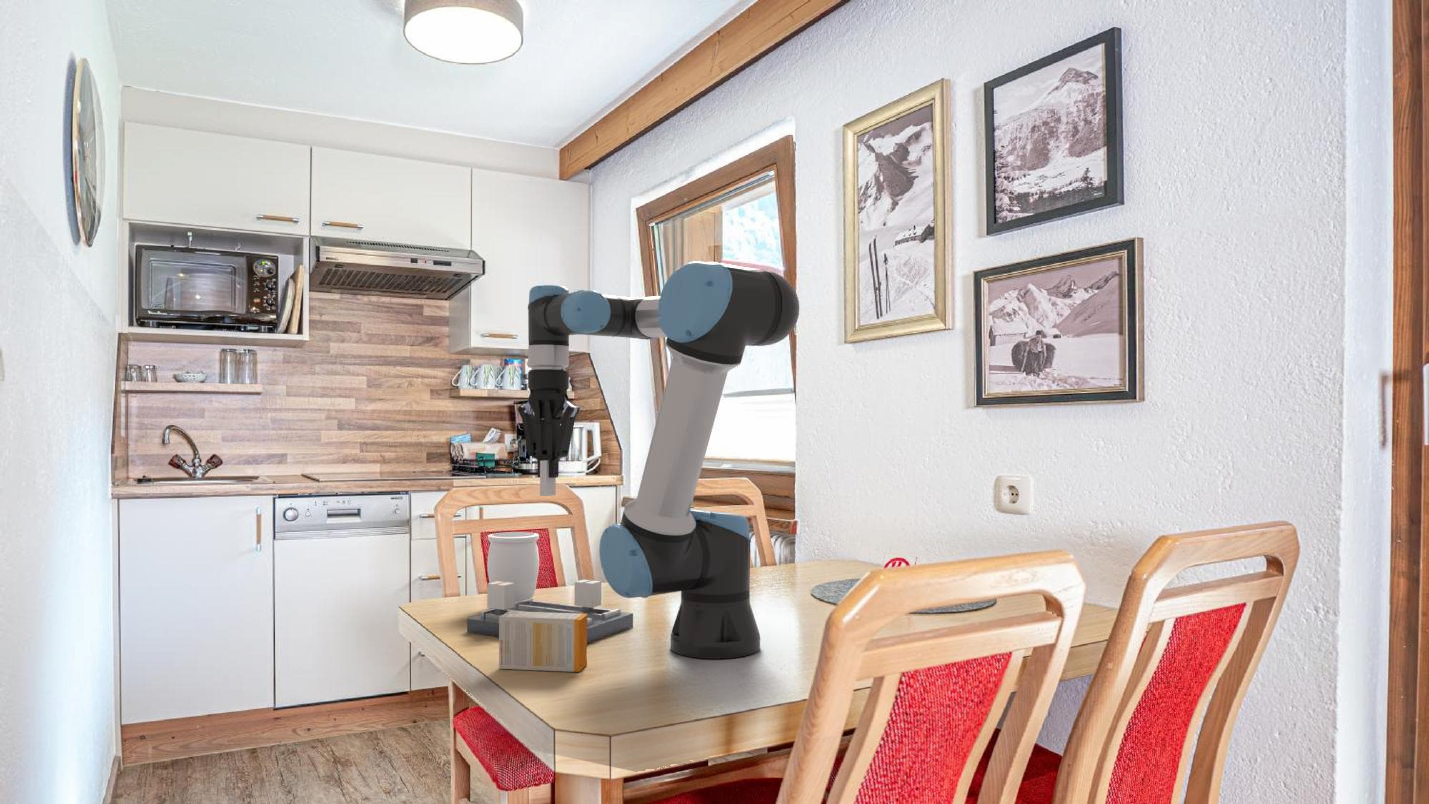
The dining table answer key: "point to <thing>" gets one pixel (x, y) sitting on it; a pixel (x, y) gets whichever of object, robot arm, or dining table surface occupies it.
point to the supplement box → (543, 641)
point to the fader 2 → (587, 594)
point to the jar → (514, 561)
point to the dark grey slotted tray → (597, 621)
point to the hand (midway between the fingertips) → (547, 495)
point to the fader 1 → (500, 596)
